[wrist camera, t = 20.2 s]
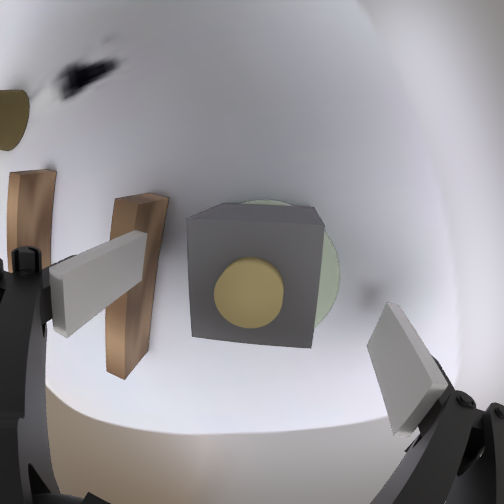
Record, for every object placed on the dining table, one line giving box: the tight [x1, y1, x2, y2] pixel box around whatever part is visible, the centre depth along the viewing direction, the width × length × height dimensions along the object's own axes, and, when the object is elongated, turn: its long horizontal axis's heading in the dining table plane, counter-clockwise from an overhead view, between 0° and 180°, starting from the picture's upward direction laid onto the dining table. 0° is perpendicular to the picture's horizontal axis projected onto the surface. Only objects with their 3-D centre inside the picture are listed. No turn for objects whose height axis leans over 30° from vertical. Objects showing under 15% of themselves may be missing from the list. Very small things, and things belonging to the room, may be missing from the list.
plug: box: [187, 203, 325, 348], centre depth 14 cm, size 5×5×7 cm
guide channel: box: [7, 169, 169, 380], centre depth 18 cm, size 12×12×4 cm
